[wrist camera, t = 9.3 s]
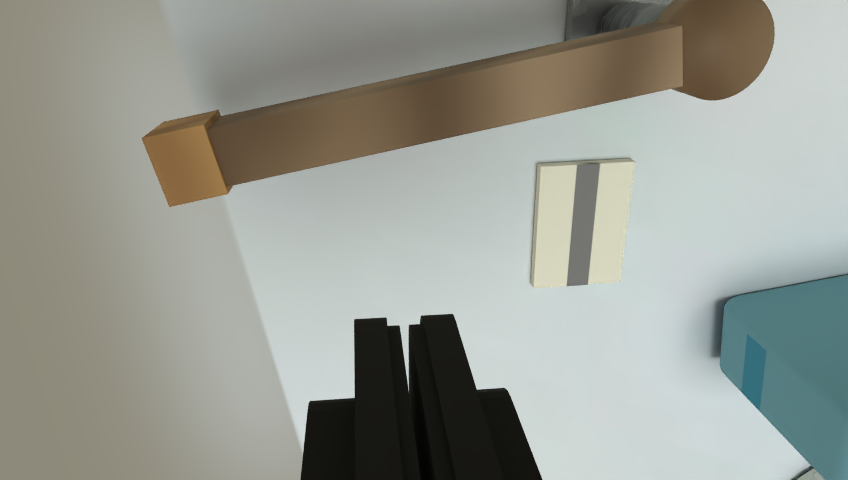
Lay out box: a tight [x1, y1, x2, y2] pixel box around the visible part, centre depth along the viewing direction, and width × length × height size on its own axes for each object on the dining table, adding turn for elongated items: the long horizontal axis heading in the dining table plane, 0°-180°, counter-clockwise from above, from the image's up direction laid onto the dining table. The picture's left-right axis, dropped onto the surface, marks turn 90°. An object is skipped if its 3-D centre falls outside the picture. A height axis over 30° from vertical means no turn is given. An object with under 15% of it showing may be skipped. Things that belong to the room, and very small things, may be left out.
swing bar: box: [142, 0, 774, 207], centre depth 21 cm, size 21×4×2 cm, turn 101°
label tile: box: [531, 158, 635, 288], centre depth 32 cm, size 7×5×1 cm
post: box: [565, 0, 674, 41], centre depth 25 cm, size 5×5×7 cm
